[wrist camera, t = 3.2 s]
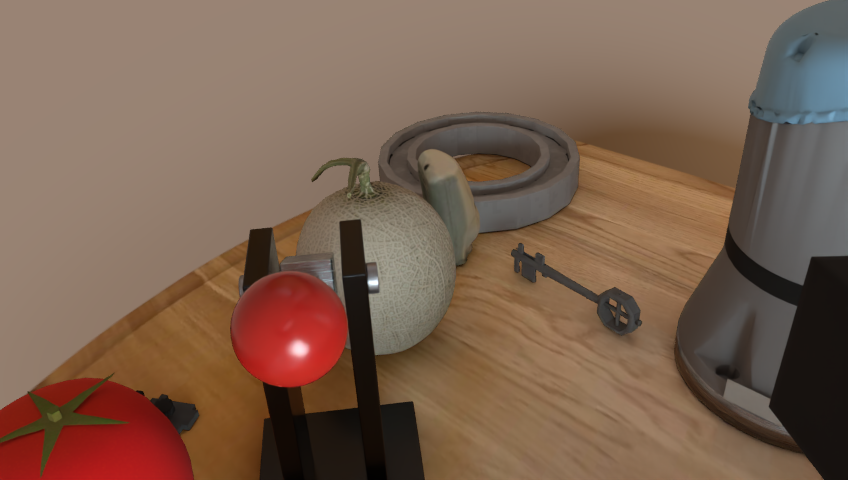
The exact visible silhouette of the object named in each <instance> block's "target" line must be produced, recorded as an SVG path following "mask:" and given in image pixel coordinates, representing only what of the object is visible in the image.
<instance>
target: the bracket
mask: <svg viewBox="0 0 848 480" xmlns="http://www.w3.org/2000/svg"><path fill="white" fill-rule="evenodd" d="M339 229H340V249H341V269H342V282H343V290H344V298H345V306H346V314H347V319H348V330H349V338H350V346H351V354H352V362H353V370H354V378H355V386H356V394H357V402H358V408H351V409H343V410H334V411H326V412H317V413H309V414H305V409H304V403H303V397H302V392H301V386H299V387H291V388H287V387H277V386H273V385H269V384H267V383H264V382H263V386H264V391H265V395H266V400H267V405H268V409H269V414H270V418H266V419H264V427H263V440H262V453H261V466H260V479H259V480H425V477H424V471H423V464H422V457H421V451H420V444H419V437H418V430H417V424H416V417H415V410H414V404H413V402H412V401H411V402H402V403H394V404H385V405H380V398H379V389H378V379H377V369H376V359H375V350H374V340H373V330H372V320H371V311H370V301H369V294H375V293H379V292H380V288H379V278H378V268H377V262H368V263H366V262H365V252H364V243H363V233H362V223H361V219H355V220H345V221H340V222H339ZM276 272H280V268H279V263H278V257H277V251H276V246H275V240H274V235H273V229H272V228H262V229H252V230H250V234H249V242H248V249H247V256H246V264H245V271H244V275H241V276H240V278H239V295H240V297H241V296H242V294H243V293H244V292H245V291H246V290H247V289H248V288H249V287H250V286H251V285H252V284H253V283H255V282H256V281H257V280H259V279H261V278H262V277H265V276H267V275H269V274H272V273H276Z"/></svg>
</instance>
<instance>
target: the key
mask: <svg viewBox="0 0 848 480" xmlns="http://www.w3.org/2000/svg"><path fill="white" fill-rule="evenodd" d="M516 249H517V250H514V249H513V250H512V252H511V255H512V256H513V257H514V258H515V259H514V271H515V272H517V273H518V272H520V266H519V262H520V261H521V262H522V276H524V277H525V278H527V279H529V280H530V281H532V282H536V276H535V275H536V270H537V271H539V272H541V273H542V276H543V277H545V278H546V277H550V278H551V279H553V280H555V281H557V282H559V283H561V284H563V285H564V286H566V287H568V288H570V289H572V290H573V291H575V292H577V293H579V294H581V295H582V296H584V297H586V298H587V299H589V300H591V301H593V302H595V303H597V304H598V307H597V314H598V315H599V317H600V319H601V321H602V322H603V324H604V325H605V326H606V327H608V328H610V329H611V330H613V331H615V332H616V333H618V334H620V335H625V334H628V333H631V332H633V331H634V330H635V329H637V328H638V326H641V324H642V321H641V320H639V317H640V309H639V307H638V305H637V303H636V302H635V300H634V298H633V297H632V296H630V295H628V294H627V293H625V292H623V291H621V290H619V289H617V288H616V287H614V288H612V289H609V290H607V291H605V292H603V293H601V294H600V295H599V296H598V295H597V294H595V293H593V292H592V291H590V290H588V289H586V288H585V287H583V286H581V285H580V284H578V283H576V282H575V281H573V280H571V279H569V278H568V277H566V276H564V275H563V274H561V273H559V272H558V271H556V270H554V269H553V268H551V267H549V266H548V265H546V264H544V262H545V256H543V255H542V254H540V253H536V256H535V258H534V257H532V256H530V255H529V254H527V253H525V252H524V244H522V243H519V244H518V248H516ZM610 298H611V299H613V300H614V301H616V302H617V306H616V307H614V306H612V305H611V304H609V300H610ZM621 304H622V306H623V307H624V309H625V311H626V313H627V314H626V313H625V312H623V311H621ZM610 310H612V311H614V312H616V315H615V318H614V316H613V314H612V312H611V311H610ZM620 315H621V316H623V317H624V318H626V319H628V321H627V325H626V324H625V323H623V322H621V321H619V320H620Z"/></svg>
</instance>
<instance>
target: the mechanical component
mask: <svg viewBox="0 0 848 480" xmlns="http://www.w3.org/2000/svg"><path fill="white" fill-rule="evenodd" d="M428 149H436V150H439V151H442V152H444V153H446V154H448V155H450V156H451V157H453V156H457V155H465V154H475V153H482V154H498V155H502V156H507V157H511V158H515V159H517V160H520V161H522V162H524V163H526V164H528V165H530V166H531V168H530V169H528V170H527V171H525V172H523V173H522V174H519V175H515V176H512V177H509V178H505V179H502V180H492V181H483V182H472V181H468V184H469V186H470V189H471V192H472V195H473V199H474V203H475V206H476V207H477V209H478V212H479V216H480V230H479V233H482V232H491V231H500V230H509V229H518V228H521V227H524V226H527V225H530V224H533V223H536V222H539V221H542V220H545V219H548V218H550V217H551V216H552V215H554V214H555V213H557V212H558V211H560V210H561V209H562V208H564V207H565V206H567V205H568V204H569V203H570V201H571V199H572V197H573V195H574V193H575V191H576V189H577V187H578V175H579V161H580V157H579V153H578V149H577V146H576V142H575V141H574V140H573V139H571V138H570V137H569V136H568V135H567V134H566V133H564V132H563V131H562V130H561V129H559V128H557V127H554V126H552V125H550V124H547V123H545V122H543V121H540V120H538V119H534V118H529V117H524V116H519V115H514V114H509V113H490V112H471V113H460V114H451V115H443V116H439V117H436V118H432V119H428V120H424V121H420V122H417V123H415V124H413V125H411V126H409V127H407V128H404V129H402V130H400V131H398V132H396V133H395V134H394V135H393V136H392V137H391V138H390V139H389V140H388V141H387V142H386V143H385V144H384V145H383V146H382V147H381V151H380V156H379V161H378V165H379V176H380V181H382V182H386V183H390V184H395V185H398V186H401V187H403V188H406V189H409V190H411V191H413V192H415V193H416V194H417V195H419V196H420V197H421V198H423V194H422V188H421V182H420V179H419V174H418V158H419V156H420V154H421V153H422V152H424V151H426V150H428Z"/></svg>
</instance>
